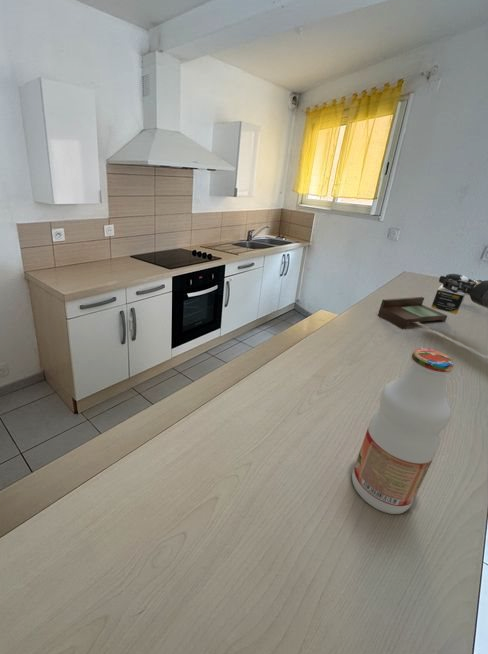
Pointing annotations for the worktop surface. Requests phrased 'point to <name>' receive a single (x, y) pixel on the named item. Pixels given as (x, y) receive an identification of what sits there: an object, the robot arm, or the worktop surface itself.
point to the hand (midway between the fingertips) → (449, 278)
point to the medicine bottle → (449, 297)
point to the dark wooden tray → (408, 311)
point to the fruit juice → (404, 433)
